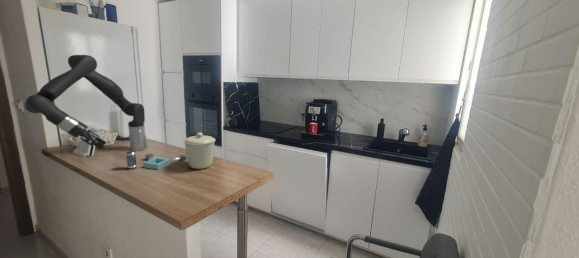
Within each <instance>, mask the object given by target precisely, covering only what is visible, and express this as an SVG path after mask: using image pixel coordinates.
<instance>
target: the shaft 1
mask: <svg viewBox="0 0 579 258" xmlns="http://www.w3.org/2000/svg"><path fill="white" fill-rule="evenodd" d="M154 158H155V157H154V154H153V153H147V154H144V159H145V160H146V161H149V160H151V159H154Z"/></svg>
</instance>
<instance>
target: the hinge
mask: <svg viewBox="0 0 579 258" xmlns="http://www.w3.org/2000/svg"><path fill="white" fill-rule="evenodd" d="M95 151H96V146H93V145H92V146H91V145H89V144H88V143H86V142H84V141H83V140H81V139H80V140H79V141H78V142H77V145H76V148H75V149H74V150H73V151H72V153H73V154H74V155H77V156H80V157H82V158H86V156H92V157H94V156H95ZM93 155H94V156H93Z"/></svg>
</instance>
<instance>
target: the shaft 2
mask: <svg viewBox="0 0 579 258" xmlns="http://www.w3.org/2000/svg"><path fill="white" fill-rule="evenodd" d="M169 159H170V163H171V164H173V163H176V162H177V163H178V162H186V161H187V160H188V159H187V155H185V154H180V155H178V156H177V157H173V158H169Z"/></svg>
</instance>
